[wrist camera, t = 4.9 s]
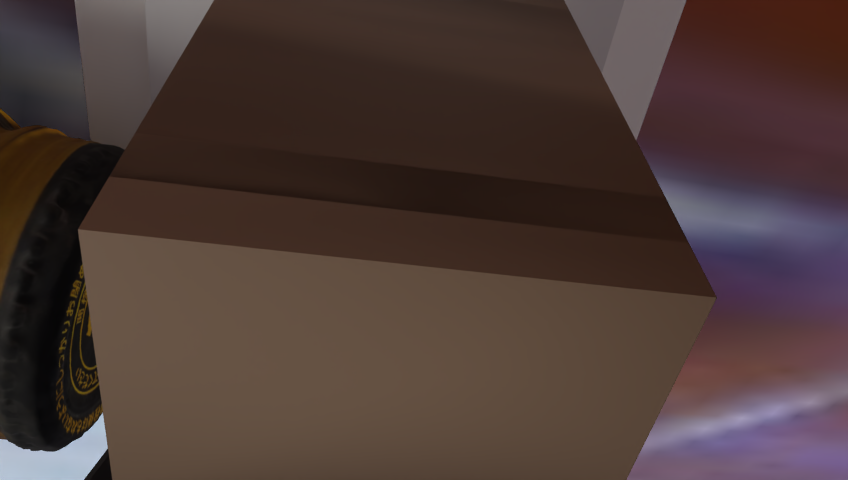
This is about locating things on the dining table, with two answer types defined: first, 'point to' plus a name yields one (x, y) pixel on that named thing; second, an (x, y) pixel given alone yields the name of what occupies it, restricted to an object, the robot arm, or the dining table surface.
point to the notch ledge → (188, 3)
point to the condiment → (46, 284)
